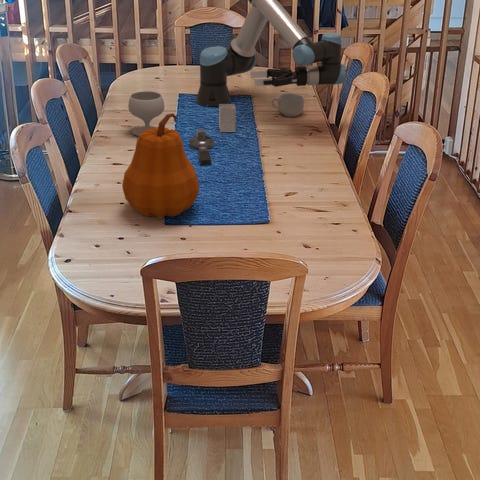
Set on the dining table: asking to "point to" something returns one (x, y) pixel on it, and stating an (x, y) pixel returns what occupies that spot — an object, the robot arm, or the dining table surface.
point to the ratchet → (202, 146)
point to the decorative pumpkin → (160, 174)
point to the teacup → (289, 104)
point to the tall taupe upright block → (227, 118)
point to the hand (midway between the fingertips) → (252, 78)
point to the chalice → (145, 108)
